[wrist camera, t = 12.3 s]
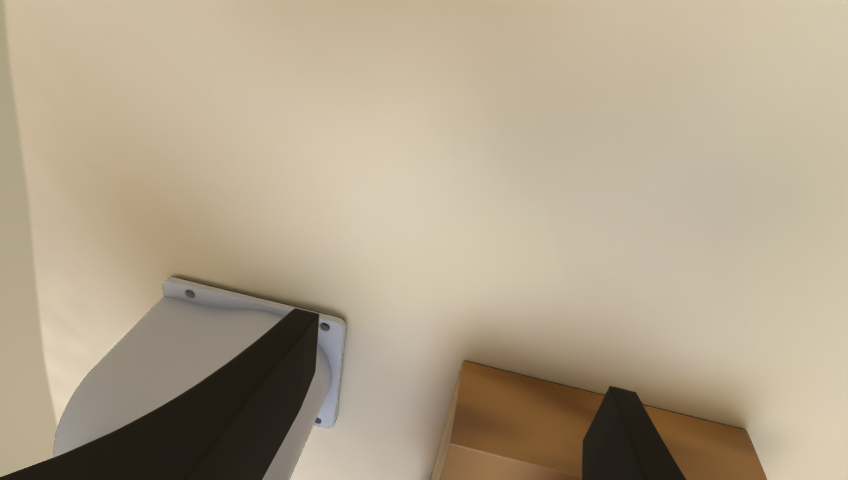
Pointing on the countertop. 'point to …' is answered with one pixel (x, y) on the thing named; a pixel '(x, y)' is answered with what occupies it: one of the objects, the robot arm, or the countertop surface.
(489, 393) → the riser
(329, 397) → the robot arm
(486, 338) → the countertop surface
